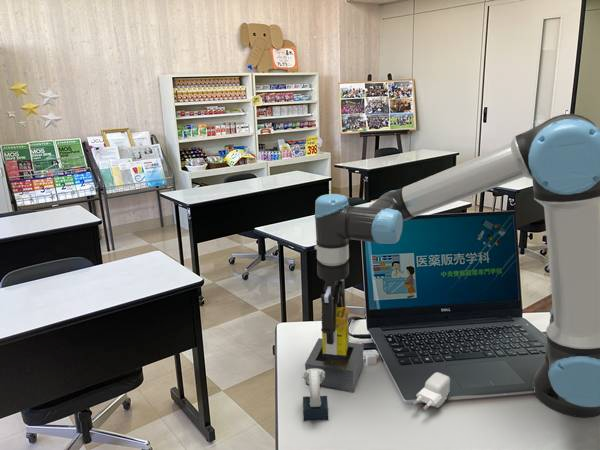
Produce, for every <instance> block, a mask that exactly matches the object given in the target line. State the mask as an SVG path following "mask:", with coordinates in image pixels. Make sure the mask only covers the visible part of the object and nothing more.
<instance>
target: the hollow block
mask: <svg viewBox="0 0 600 450" xmlns="http://www.w3.org/2000/svg"><path fill="white" fill-rule="evenodd" d="M363 366H364V344H363V343H357V342H350V341H349V346H348V349H347V354H346V358H340V357H328V356H323V346H322V337H320V338H318V339H317V341H316V342H315V345H314V346H313V349H312V350H311V352H310V354H309V356H308V357H307V360H306V361H305V363H304V369H305V370H304V371H306V370H308V369H321V370H323V371H324V372H325V378H324V380H323V381H322V383H321V384H320V388H324V389H331V390H335V391H342V392H348V393H354V392H355V389H356V387H357V384H358V381H359V378H360V375H361V371H362V369H363ZM305 385H307V386H310V385H309V384H307V382H306V381H305ZM317 386H318V385H317Z"/></svg>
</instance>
